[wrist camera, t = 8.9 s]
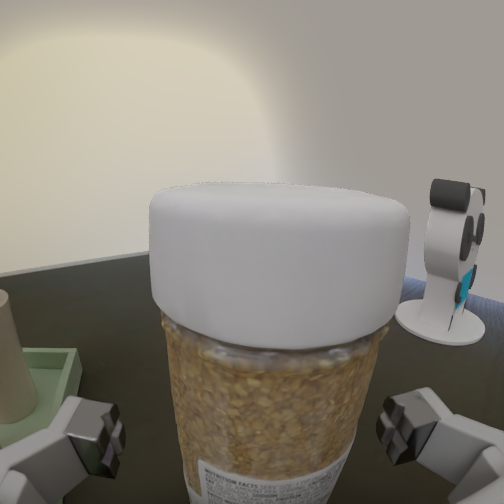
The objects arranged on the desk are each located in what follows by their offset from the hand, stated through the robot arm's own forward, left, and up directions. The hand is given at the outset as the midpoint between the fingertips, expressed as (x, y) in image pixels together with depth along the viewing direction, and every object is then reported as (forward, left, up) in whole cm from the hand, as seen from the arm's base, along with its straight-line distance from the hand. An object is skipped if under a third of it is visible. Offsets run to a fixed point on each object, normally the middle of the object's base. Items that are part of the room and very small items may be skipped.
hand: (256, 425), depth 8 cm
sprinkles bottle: (0, -1, -7) cm, 7 cm away
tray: (-12, +7, -7) cm, 15 cm away
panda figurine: (+29, 0, -7) cm, 29 cm away
